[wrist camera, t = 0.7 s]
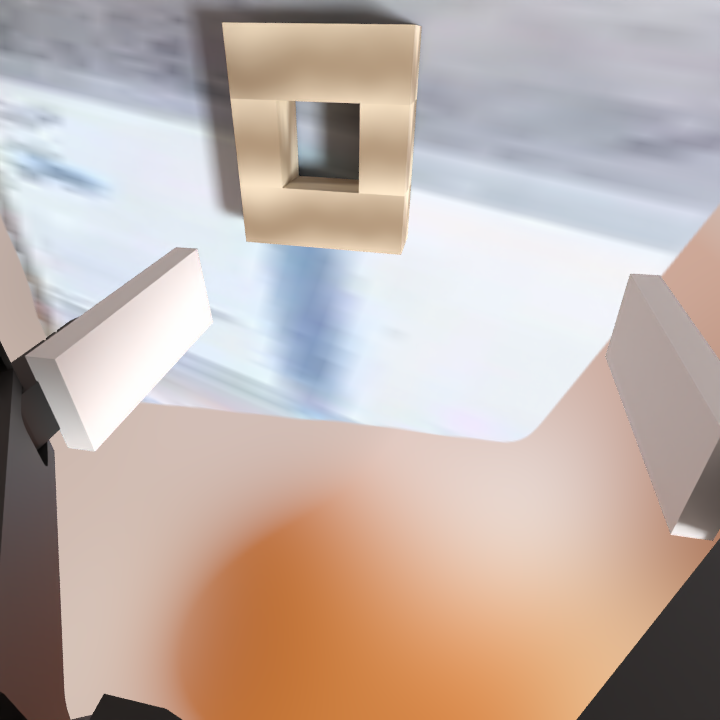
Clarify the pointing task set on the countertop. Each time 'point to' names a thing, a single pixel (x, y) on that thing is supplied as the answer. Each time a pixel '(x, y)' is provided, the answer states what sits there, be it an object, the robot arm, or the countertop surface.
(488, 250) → the countertop surface
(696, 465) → the robot arm
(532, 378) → the countertop surface
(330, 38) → the socket block
